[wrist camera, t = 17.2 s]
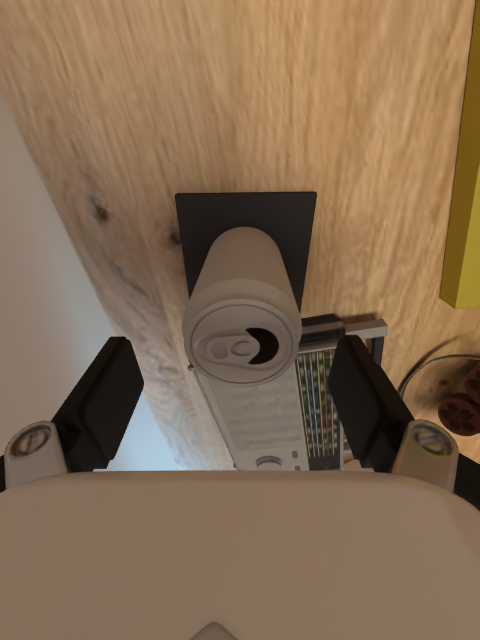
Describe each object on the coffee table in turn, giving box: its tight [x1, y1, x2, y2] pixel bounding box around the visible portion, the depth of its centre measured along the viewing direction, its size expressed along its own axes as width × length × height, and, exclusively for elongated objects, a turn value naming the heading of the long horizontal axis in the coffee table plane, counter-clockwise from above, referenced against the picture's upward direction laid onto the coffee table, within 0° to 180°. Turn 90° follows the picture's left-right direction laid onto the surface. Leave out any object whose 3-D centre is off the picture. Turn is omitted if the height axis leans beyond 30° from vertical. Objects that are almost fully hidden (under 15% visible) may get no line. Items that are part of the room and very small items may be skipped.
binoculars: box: [400, 354, 480, 458], centre depth 25 cm, size 14×14×15 cm
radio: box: [188, 314, 388, 471], centre depth 31 cm, size 24×5×20 cm
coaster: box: [175, 192, 317, 314], centre depth 23 cm, size 11×11×1 cm
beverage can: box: [182, 227, 302, 387], centre depth 17 cm, size 6×6×12 cm
